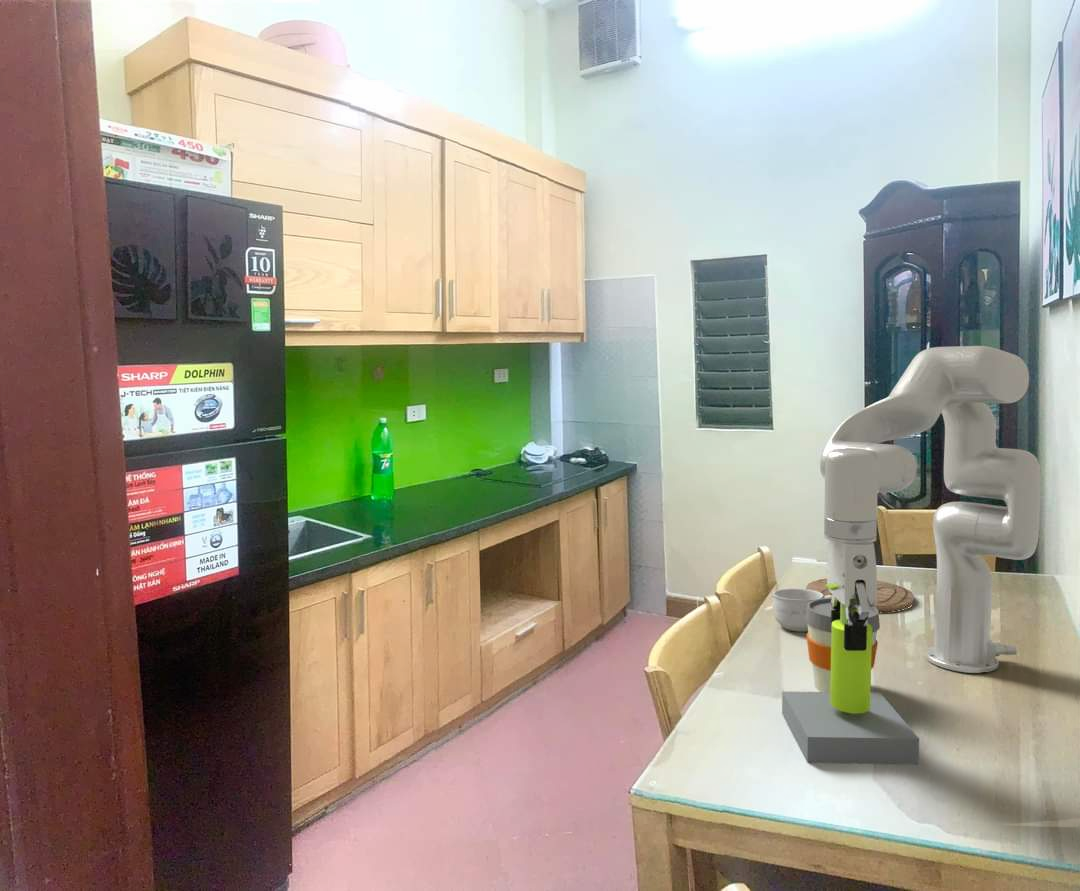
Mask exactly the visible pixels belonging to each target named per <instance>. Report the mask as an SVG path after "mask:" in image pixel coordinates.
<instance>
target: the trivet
mask: <svg viewBox="0 0 1080 891" xmlns="http://www.w3.org/2000/svg"><path fill="white" fill-rule="evenodd" d="M826 584H827V578H822V579H821V578H820V579H818V580H813V581H811V582H810V583H808V584H807V585H806V587H805V589H809V590H814V591H817V592H820V593H822V594H823V597H825V596H827V595H831V592H830V591H829V589H828V587H827V586H826ZM914 602H915V595H914V594H913V593H912V591H910V590H909V589H907V588H905V587H902V586H900V585H898V584H895V583H891V582H887V581H882V580H877V604H876V606H874V607H875V608H877V609H878V612H892V611H898V610H902V609H905V608H908V607H910V606H911V605H913V606H914V604H913V603H914ZM910 608H911V607H910ZM892 613H893V612H892Z"/></svg>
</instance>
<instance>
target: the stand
mask: <svg viewBox="0 0 1080 891" xmlns="http://www.w3.org/2000/svg"><path fill="white" fill-rule="evenodd" d="M781 693H782V694H781V695H782V696H781V697H782V698H781V704H782V705H781V715H782V714H783V715H782V716H784V717H783V719H784V718H785V719H784V721H785V720H786V721H785V722H787V723H786V725H787V726H788V728H789V730H790V732H791V734H792V736H793V738H794V739H795V742H796V744H797V745H798V748H799V749H800V751H801V753H802V755H803V757H804V759H805V760H806V763H813V764H816V763H817V764H870V765H871V764H874V765H877V764H878V765H881V764H883V765H919V755H920V754H919V753H920V752H919V750H920V749H919V748H920V738H919V737H918V735H917V734H916V733H915V732H914V731H913V730H912V729H911V727H910V726H909V725H908V724H907V723H906V722H905V720H904V719H903V717H901V716H900V715H899V713H898V712H897V711H896V710H895V709H894V708H893V706H892V705H891V703H889V702H888V700H887V699H886V698H885V696H883V695H882V693H881V692H873V691H871V693H870V710H869V711H867V712H865V713H857V714H855V713H847V712H843V711H840V710H837V709H835V708H834V707H833V706H832V705H831V704H830V692H820V691H782V692H781Z"/></svg>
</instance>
